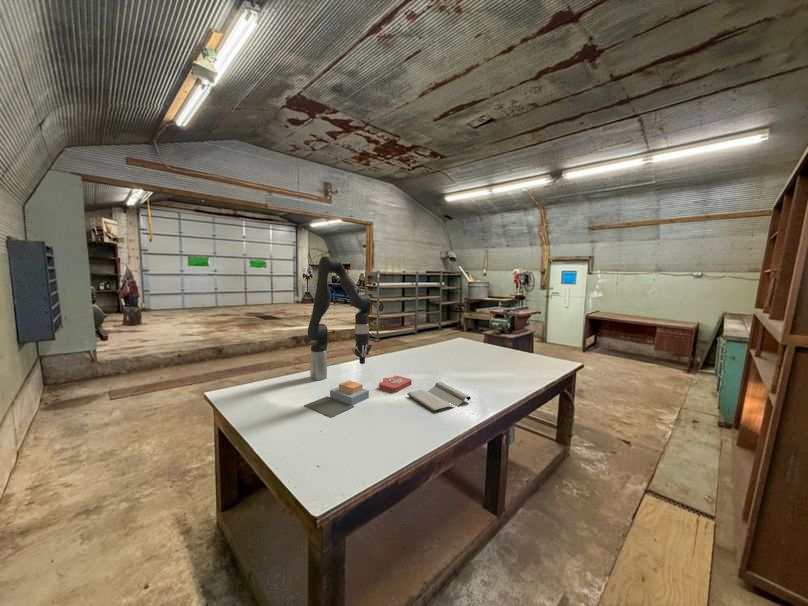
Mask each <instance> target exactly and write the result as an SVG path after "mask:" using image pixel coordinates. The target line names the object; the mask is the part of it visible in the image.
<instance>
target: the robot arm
mask: <svg viewBox="0 0 808 606" xmlns="http://www.w3.org/2000/svg"><path fill="white" fill-rule="evenodd" d="M329 274H335V275H336V276H338V278H339V283H340V287H341V289H342V290H343V291H344V292H345V294H346V295H347V296H348V299H349V300H350V303H351V305H352V306H353V307H354V308H356V309H359V311H358V312H357V313H356V314H355V315H354V318H355V326H354V340H355V347H353V348H352V351H353V353H354V355H355V356H356V358H357V357H358V358H359V364H360V365H364V364H366V363H365V362H366V356H368V355H369V353H370V350H371V348H372V344H369V341H370V324H369V317H370V316H369V315H370V312H371V307H372V298H371V296H370V295H368V294H360V293H361V292H360V291H361V290H360V287H358V285H357V284H356V283H355V282H354V281H353V279H351V276H350V275H349V273H348V272H347V271H346V269H345V267H344V266H343V263H342V262H341V261H340V259H339V258H338V257H336V256H322V257H321V258H320V260H319V262H318V271H317V282H316V289H315V295H314V301H313V307H312V313H311V316H310V320H309V322H308V328H307V337H308V339H309V340H310V341H315V342H314V343H313V344H312V345H311V346H310V363H309V364H310V365H309V366H310V369H309V370H310V374H309V376H310V378H311V380H312V381H313V380H314V381H322V380H326V379H328V378H327V377H328V375H327V374H328V368H327V367H328V363H327V362H328V359H327V354H328V353H327V348H328V343H329V342H328V341H329V330H328V327H327V325H326V324H324V323H320V322H321V319H322V318H323V317H324V315H325V314H326V313H327V311H328V310H329V308H330V306H331V301H332V292H331V289H330V287H329V284H328V277H329Z"/></svg>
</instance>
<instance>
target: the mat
mask: <svg viewBox="0 0 808 606" xmlns="http://www.w3.org/2000/svg"><path fill="white" fill-rule="evenodd" d="M406 395H408V397H409V398H412V399H413V400H414V401H416V402H418V403H420V404H421V405H422V406H423V407H425V408H427V409H428V410H429V411H431V412H432V413H435V412H436V411H438V410H443V409H446V408H453V406H454V405H455V406H454V407H456V406H458V407H459V406H460V405H462V404H463V403H464V401H465V400H467V402H468V401H470V400H471V396H470V395H468V394H466V393H464V392H462V391H460V390H458V389H456V388H454V387H452V386H450V385H448V384H446V383H444V382H443V381H437V382H436V383H435V384H434V386H433V387H431V388H430V389H428V390H421V389H419V390H413V391H409V392H407V394H406ZM450 403H451V404H450ZM452 404H453V405H452Z"/></svg>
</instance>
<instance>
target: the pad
mask: <svg viewBox="0 0 808 606" xmlns="http://www.w3.org/2000/svg"><path fill="white" fill-rule="evenodd" d="M303 406H304V407H306V408H308V409H311V410H313V411H315V412H318V413H320V414H322V415H325V416H327V417H329V418H334V417H336V416H338V415H341V414H343V413H345V412H346V411H349V410H351V409H353V408H355V405H349V404H347V403H344V402H341V401H338V400H336V399H333V398H330V396H327V395H326V396H324V397H322V398H319V399H316V400H314V401H312V402H309V403H306V404H303Z"/></svg>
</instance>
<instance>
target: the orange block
mask: <svg viewBox="0 0 808 606" xmlns="http://www.w3.org/2000/svg"><path fill="white" fill-rule="evenodd" d="M338 385H339V386H338V387H339V390H342V391H345V392H348V393H351V394H354V393H357V392H359V391H361V390H363V389H364V388H363V383H359V382H355V381H352V380H347V381H344V382H340V383H339V384H338Z"/></svg>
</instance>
